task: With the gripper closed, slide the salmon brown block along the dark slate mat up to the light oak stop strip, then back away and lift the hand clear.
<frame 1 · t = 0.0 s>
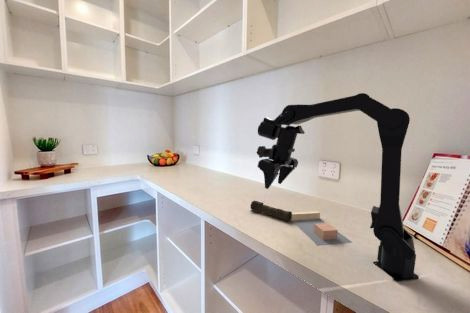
hand: (273, 185, 68), 15 cm above the worktop, tool pointing down, fingers open, 9 cm apart
slate mat: (317, 230, 68), on the worktop
hand tool: (268, 216, 80), on the worktop, touching slate mat
salmon brown block: (325, 235, 64), resting on slate mat
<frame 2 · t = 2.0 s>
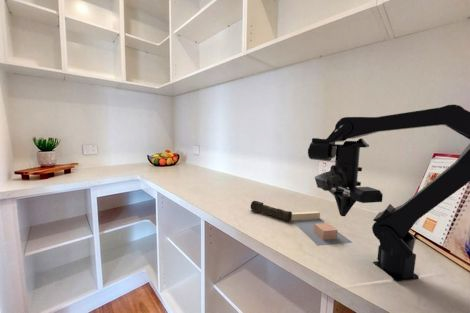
hand: (342, 215, 56), 10 cm above the worktop, tool pointing down, fingers closed
nothing on the worktop moved.
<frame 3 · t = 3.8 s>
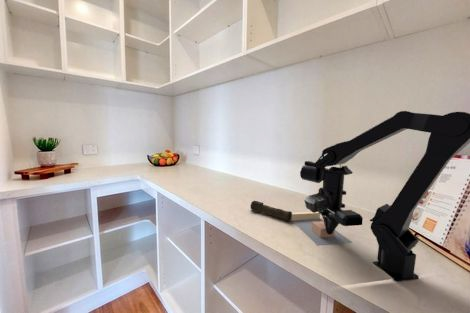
hand: (329, 233, 61), 2 cm above the worktop, tool pointing down, fingers closed
salmon brown block: (322, 233, 65), point 1 cm above the worktop, touching gripper
everything else where it was.
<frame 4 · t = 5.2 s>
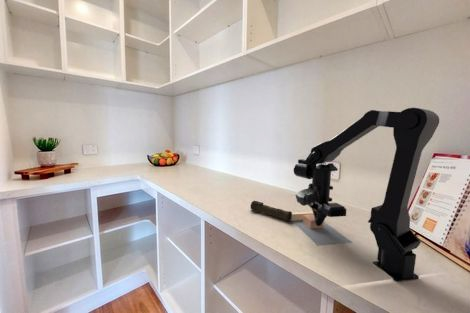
hand: (318, 225, 67), 2 cm above the worktop, tool pointing down, fingers closed
salmon brown block: (312, 225, 71), resting on slate mat, touching gripper
everything else where it was.
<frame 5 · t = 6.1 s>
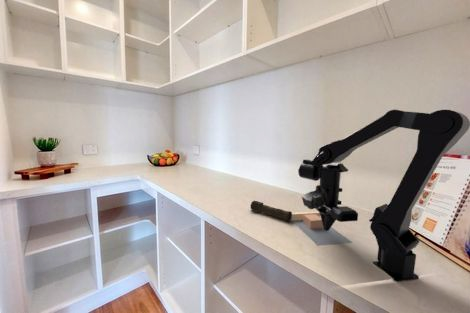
hand: (326, 230, 63), 3 cm above the worktop, tool pointing down, fingers closed
salmon brown block: (312, 225, 71), resting on slate mat
everything else where it was.
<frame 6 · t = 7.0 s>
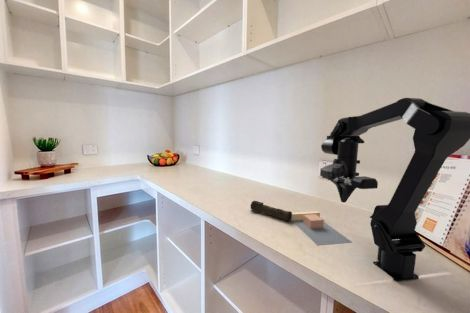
hand: (343, 202, 65), 11 cm above the worktop, tool pointing down, fingers closed
nothing on the worktop moved.
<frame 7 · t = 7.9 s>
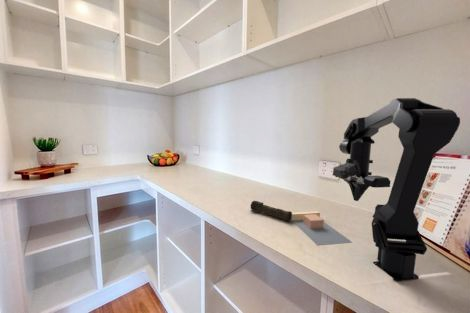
hand: (356, 200, 67), 11 cm above the worktop, tool pointing down, fingers closed
nothing on the worktop moved.
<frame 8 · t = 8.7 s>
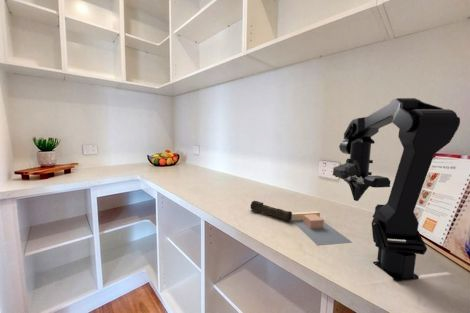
hand: (356, 200, 67), 11 cm above the worktop, tool pointing down, fingers closed
nothing on the worktop moved.
at the end: salmon brown block inside the target area (0.4 cm from its centre), point 0.5 cm above the worktop; salmon brown block tilted 0° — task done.
